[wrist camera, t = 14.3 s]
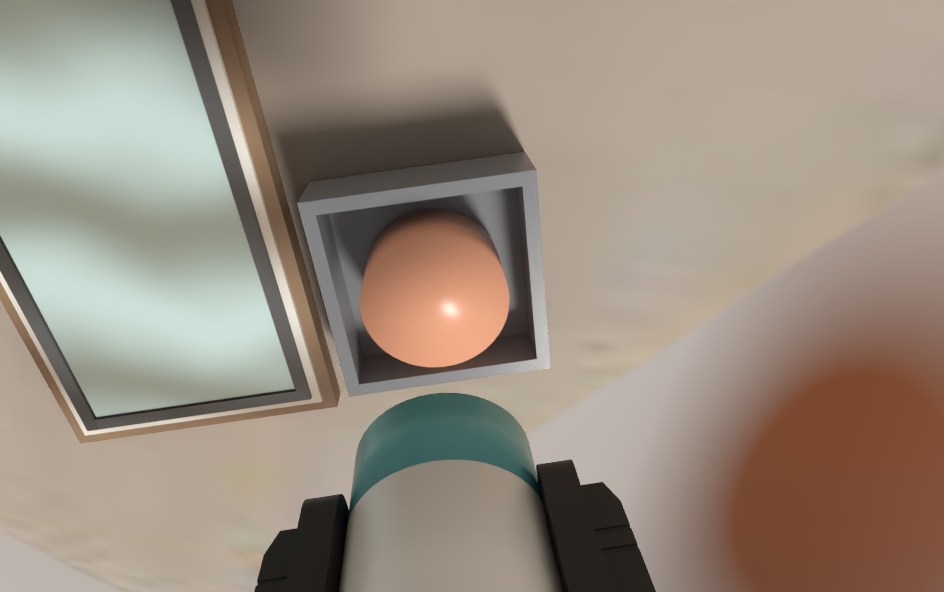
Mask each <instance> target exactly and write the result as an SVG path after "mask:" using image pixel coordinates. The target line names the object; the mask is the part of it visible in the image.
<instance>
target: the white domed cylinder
mask: <svg viewBox="0 0 944 592" xmlns="http://www.w3.org/2000/svg"><path fill="white" fill-rule="evenodd" d="M339 592H564V590H563V586H562V582H561V578H560V574H559V570H558V565H557V561H556V557H555V553H554V549H553V545H552V541H551V536H550V532H549V528H548V524H547V520H546V516H545V511H544V507H543V503H542V499H541V495H540V491H539V487H538V481H537V474H536V470H535V466H534V462H533V458H532V454H531V450H530V446H529V441H528V439H527V436H526V434H525V432H524V430H523V428H522V427H521V425H520V424H519V423H518V421H517V420H516V419H515V418H514V417H513V416H512V415H511V414H510V413H509V412H507V411H506V410H504V409H503V408H501V407H500V406H498V405H496V404H494V403H492V402H490V401H488V400H485V399H482V398H480V397H476V396H472V395H467V394H459V393H437V394H429V395H424V396H419V397H416V398H412V399H409V400H406V401H404V402H402V403H400V404H397V405H395V406H394V407H392V408H390V409H389V410H387V411H386V412H384V413H383V414H382V415H380V416H379V417H378V418H377V419H376V420H375V421H374V422H373V423H372V424H371V425H370V426H369V428H368V429H367V430H366V432H365V433H364V435H363V437H362V439H361V440H360V443H359V446H358V449H357V453H356V460H355V468H354V476H353V484H352V492H351V500H350V508H349V516H348V524H347V532H346V540H345V548H344V556H343V564H342V572H341V580H340V587H339Z"/></svg>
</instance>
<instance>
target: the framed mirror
mask: <svg viewBox="0 0 944 592" xmlns="http://www.w3.org/2000/svg"><path fill="white" fill-rule="evenodd" d="M0 300H1V302H2V303H3V305H4V307H5V309H6V311H7V312H8V314H9V316H10V318H11V320H12V321H13V323H14V325H15V327H16V328H17V330H18V332H19V334H20V336H21V337H22V339H23V341H24V343H25V345H26V346H27V348H28V350H29V352H30V354H31V355H32V357H33V359H34V361H35V363H36V364H37V366H38V368H39V370H40V371H41V373H42V375H43V377H44V379H45V380H46V382H47V384H48V386H49V388H50V389H51V391H52V393H53V395H54V397H55V398H56V400H57V402H58V404H59V406H60V407H61V409H62V411H63V413H64V414H65V416H66V418H67V420H68V422H69V423H70V425H71V427H72V429H73V431H74V432H75V434H76V436H77V438H78V440H79V441H80V443H87V442H94V441H100V440H107V439H114V438H121V437H128V436H135V435H142V434H149V433H156V432H163V431H170V430H177V429H184V428H191V427H198V426H205V425H212V424H219V423H226V422H233V421H240V420H247V419H254V418H261V417H268V416H275V415H282V414H289V413H296V412H303V411H310V410H317V409H324V408H331V407H337V406H338V401H339V396H340V390H339V386H338V383H337V379H336V376H335V372H334V368H333V365H332V361H331V358H330V354H329V350H328V347H327V343H326V340H325V336H324V332H323V329H322V325H321V321H320V318H319V314H318V311H317V307H316V303H315V300H314V296H313V293H312V289H311V285H310V282H309V278H308V275H307V271H306V267H305V264H304V260H303V257H302V253H301V249H300V246H299V242H298V239H297V235H296V231H295V228H294V224H293V221H292V217H291V213H290V210H289V206H288V203H287V199H286V195H285V192H284V188H283V184H282V181H281V177H280V174H279V170H278V166H277V163H276V159H275V156H274V152H273V148H272V145H271V141H270V138H269V134H268V130H267V127H266V123H265V120H264V116H263V112H262V109H261V105H260V102H259V98H258V94H257V91H256V87H255V84H254V80H253V76H252V73H251V69H250V65H249V62H248V58H247V55H246V51H245V47H244V44H243V40H242V37H241V33H240V29H239V26H238V22H237V19H236V15H235V11H234V8H233V4H232V1H231V0H0Z"/></svg>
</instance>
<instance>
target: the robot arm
mask: <svg viewBox="0 0 944 592" xmlns="http://www.w3.org/2000/svg"><path fill="white" fill-rule="evenodd" d="M536 470H537V481H538V487H539V491H540V495H541V499H542V503H543V507H544V511H545V516H546V520H547V524H548V528H549V532H550V536H551V541H552V545H553V549H554V553H555V557H556V561H557V565H558V570H559V574H560V578H561V582H562V586H563V590H564V592H656V591H655V588H654V586H653V583H652V581H651V578H650V575H649V573H648V570H647V568H646V565H645V563H644V560H643V557H642V555H641V552H640V550H639V548H638V546H637V542H636V540H635V537H634V534H633V532H632V529H631V528H630V524H629V521H628V519H627V516H626V514H625V511H624V509H623V506H622V503H621V501H620V500H619V499H618V498H617V497H616V496H615V495H614V494H613V493H612V492H611V490H610V489H609V488H608V487H607V486H606V485H605V484H603V482H600V483H593V484H587V485H580V482H579V479H578V476H577V473H576V469H575V467H574V464H573V461H572V460H565V461H558V462H552V463H545V464H539V465H537V466H536ZM348 516H349V509H348V506H347V503H346V500H345V498H344V496H343V495H342V494H339V495H332V496H326V497H319V498H313V499H306V500H305V501H304V502H303V505H302V509H301V514H300V518H299V523H298V528H297V529H290V530H284V531H280V532H279V534H278V535H277V537H276V538H275V540H274V541H273V542H272V544H271V545H270V547H269V548H268V550H267V551H266V553H265V554H264V557H263V561H262V565H261V569H260V572H259V576H258V580H257V582H258V585H257V586H256V588H255V592H339V587H340V580H341V572H342V564H343V556H344V548H345V540H346V532H347V524H348Z"/></svg>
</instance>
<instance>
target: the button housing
mask: <svg viewBox="0 0 944 592" xmlns="http://www.w3.org/2000/svg"><path fill="white" fill-rule="evenodd" d="M297 205H298V209H299V213H300V216H301V220H302V224H303V227H304V231H305V235H306V238H307V242H308V246H309V250H310V253H311V257H312V261H313V264H314V268H315V272H316V276H317V279H318V283H319V287H320V290H321V294H322V298H323V301H324V305H325V309H326V313H327V316H328V320H329V324H330V327H331V331H332V335H333V339H334V342H335V346H336V350H337V353H338V357H339V361H340V365H341V368H342V372H343V376H344V379H345V383H346V387H347V390H348V394H349V397H350V396H357V395H364V394H371V393H378V392H385V391H392V390H399V389H406V388H413V387H420V386H427V385H434V384H441V383H448V382H455V381H462V380H469V379H475V378H482V377H489V376H496V375H503V374H510V373H517V372H524V371H531V370H538V369H545V368H550V357H549V342H548V328H547V314H546V300H545V286H544V272H543V258H542V244H541V229H540V215H539V201H538V187H537V173H536V169H535V167H534V165H533V164H532V162H531V161H530V159H529V158H528V156H527V154H526V153H525V152H518V153H511V154H504V155H497V156H489V157H482V158H475V159H468V160H461V161H454V162H446V163H439V164H432V165H425V166H418V167H410V168H403V169H396V170H389V171H382V172H375V173H367V174H360V175H353V176H346V177H339V178H331V179H324V180H317V181H310V182H309V184H308V185H307V187H306V189H305V190H304V192H303V194H302V196H301V197H300V199H299V201H298V202H297ZM431 209H436V210H446V211H451V212H455V213H458V214H461V215H463V216H465V217H467V218H469V219H471V220H472V221H474V222H475V223H477V224H478V225H479V226H480V227H482V228H483V229H484V231H485V232H486V233H487V234H488V235H489V236H490V238H491V239H492V241H493V243H494V245H495V247H496V249H497V252H498V255H499V258H500V261H501V265H502V268H503V272H504V275H505V279H506V282H507V286H508V291H509V311H508V315H507V319H506V322H505V324H504V326H503V328H502V330H501V332H500V333H499V335H498V336H497V338H496V339H495V340H494V342H493V343H492V344H491V345H490V346H489V347H488V348H486V349H485V350H484V351H483V352H481V353H480V354H478V355H477V356H475V357H473V358H471V359H469V360H467V361H465V362H462V363H459V364H456V365H451V366H446V367H422V366H416V365H412V364H409V363H406V362H403V361H401V360H399V359H397V358H395V357H393V356H391V355H390V354H388V353H387V352H385V351H384V350H383V349H382V348H381V347H379V346H378V345H377V343H376V342H375V341H374V340H373V339H372V337H371V336H370V334H369V333H368V331H367V329H366V327H365V325H364V323H363V319H362V316H361V311H360V293H361V287H362V282H363V278H364V273H365V268H366V263H367V258H368V255H369V251H370V249H371V247H372V245H373V243H374V241H375V240H376V238H377V237H378V235H379V234H380V233H381V232H382V231H383V230H384V229H385V228H386V227H387V226H388V225H389V224H391V223H392V222H394V221H395V220H397V219H398V218H400V217H402V216H404V215H407V214H410V213H413V212H416V211H421V210H431Z"/></svg>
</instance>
